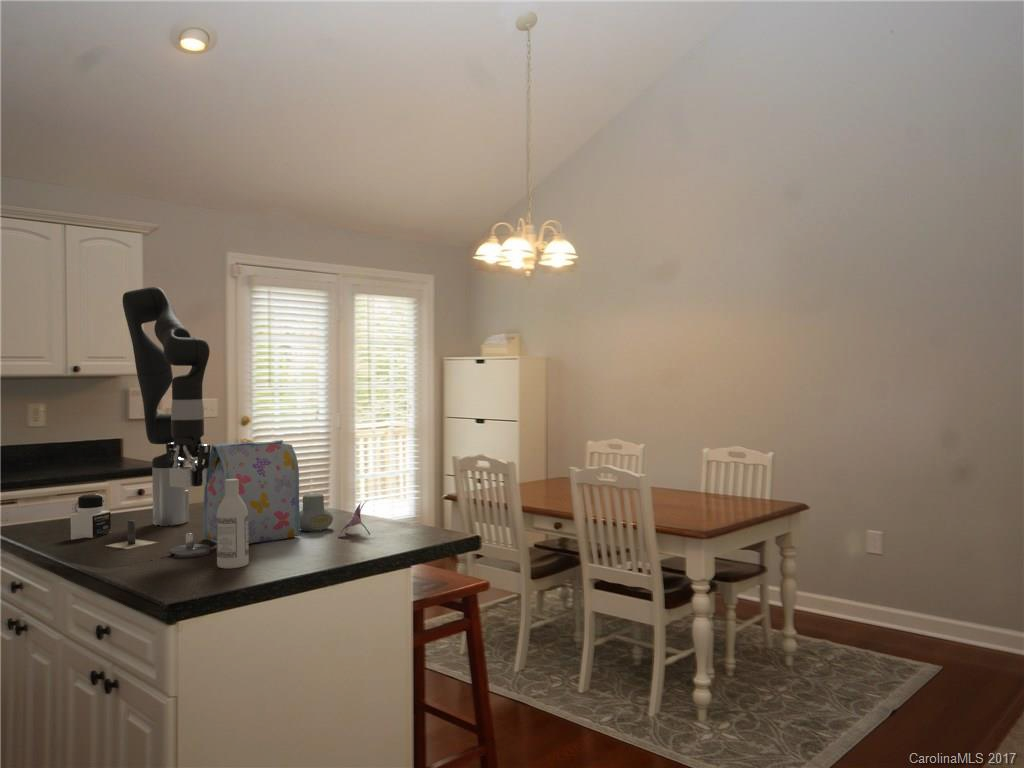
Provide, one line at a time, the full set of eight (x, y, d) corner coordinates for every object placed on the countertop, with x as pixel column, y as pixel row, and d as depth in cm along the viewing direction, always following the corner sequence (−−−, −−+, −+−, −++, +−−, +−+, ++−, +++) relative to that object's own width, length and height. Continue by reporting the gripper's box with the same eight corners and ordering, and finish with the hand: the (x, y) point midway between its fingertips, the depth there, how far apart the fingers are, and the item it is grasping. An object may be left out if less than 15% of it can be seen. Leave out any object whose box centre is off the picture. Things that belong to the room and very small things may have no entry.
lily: (362, 532, 231) (344, 504, 230) (391, 519, 225) (373, 490, 224) (339, 553, 220) (320, 524, 219) (369, 540, 215) (350, 510, 214)
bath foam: (238, 560, 191) (237, 477, 191) (254, 565, 187) (253, 479, 186) (211, 566, 186) (210, 480, 186) (227, 570, 181) (226, 482, 181)
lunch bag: (275, 530, 231) (274, 437, 231) (305, 537, 219) (304, 440, 219) (198, 541, 215) (196, 442, 215) (226, 550, 203) (224, 446, 203)
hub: (193, 548, 206) (192, 529, 206) (217, 552, 201) (216, 532, 201) (162, 555, 198) (162, 535, 198) (186, 559, 193) (186, 538, 193)
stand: (136, 543, 214) (136, 516, 214) (158, 546, 209) (157, 519, 209) (104, 549, 206) (104, 522, 206) (126, 552, 202) (126, 524, 202)
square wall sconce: (190, 483, 203) (190, 465, 203) (206, 484, 200) (206, 466, 200) (169, 486, 198) (169, 468, 198) (185, 487, 195) (185, 469, 195)
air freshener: (302, 534, 223) (302, 498, 223) (289, 530, 230) (288, 495, 230) (337, 529, 231) (337, 494, 231) (323, 525, 237) (323, 491, 237)
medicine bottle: (93, 541, 217) (92, 496, 217) (70, 540, 219) (69, 496, 218) (111, 536, 224) (110, 493, 224) (89, 535, 226) (88, 492, 225)
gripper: (219, 417, 199) (220, 485, 199) (181, 416, 206) (182, 482, 206) (194, 419, 193) (195, 489, 193) (155, 418, 200) (156, 485, 200)
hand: (188, 485), depth 199 cm, fingers closed on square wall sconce, 6 cm apart
